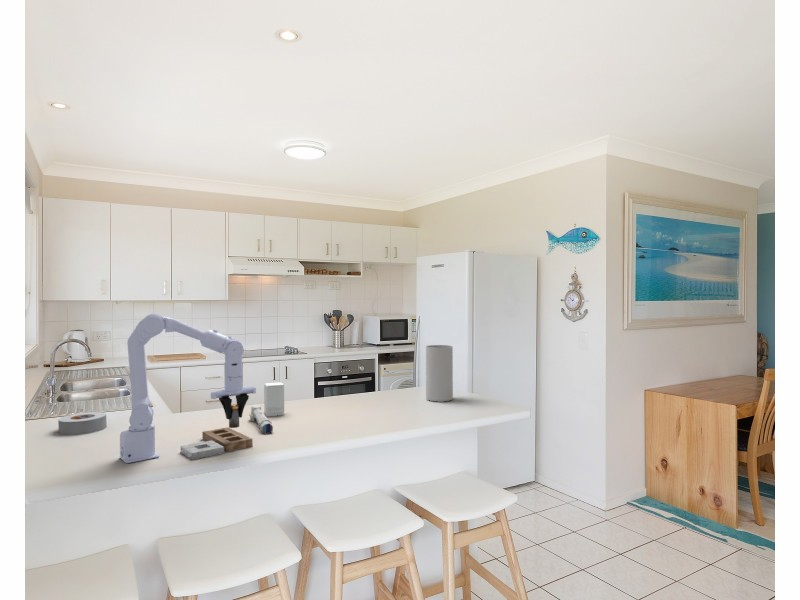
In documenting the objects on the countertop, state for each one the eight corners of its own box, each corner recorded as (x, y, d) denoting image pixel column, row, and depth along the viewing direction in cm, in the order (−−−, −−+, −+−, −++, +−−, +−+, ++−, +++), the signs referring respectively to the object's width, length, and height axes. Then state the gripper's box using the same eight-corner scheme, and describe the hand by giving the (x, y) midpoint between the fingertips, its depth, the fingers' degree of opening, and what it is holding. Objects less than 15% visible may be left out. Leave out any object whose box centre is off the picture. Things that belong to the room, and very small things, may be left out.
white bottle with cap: (260, 424, 188) (248, 401, 211) (259, 442, 189) (248, 417, 212) (274, 422, 191) (261, 400, 213) (274, 440, 192) (261, 416, 214)
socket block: (191, 459, 160) (191, 453, 160) (180, 452, 167) (180, 446, 167) (224, 453, 166) (224, 446, 166) (211, 446, 174) (211, 440, 174)
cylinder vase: (439, 403, 240) (439, 348, 239) (420, 399, 249) (420, 346, 249) (458, 399, 248) (458, 346, 248) (438, 395, 257) (438, 344, 257)
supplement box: (284, 415, 218) (284, 384, 218) (266, 416, 216) (266, 385, 215) (281, 411, 225) (281, 381, 225) (263, 413, 222) (263, 383, 222)
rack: (225, 451, 168) (225, 443, 168) (202, 438, 183) (202, 431, 183) (252, 446, 174) (252, 438, 174) (227, 434, 189) (227, 427, 189)
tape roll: (50, 436, 188) (50, 422, 188) (68, 426, 203) (68, 412, 203) (98, 434, 191) (97, 420, 191) (112, 424, 206) (112, 411, 206)
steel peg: (231, 428, 171) (231, 406, 171) (227, 426, 174) (227, 405, 174) (240, 426, 173) (240, 405, 173) (236, 424, 176) (236, 403, 176)
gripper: (216, 380, 166) (217, 423, 166) (259, 375, 175) (260, 416, 175) (208, 377, 171) (208, 419, 171) (250, 373, 180) (250, 412, 181)
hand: (234, 417), depth 174 cm, fingers closed on steel peg, 3 cm apart
